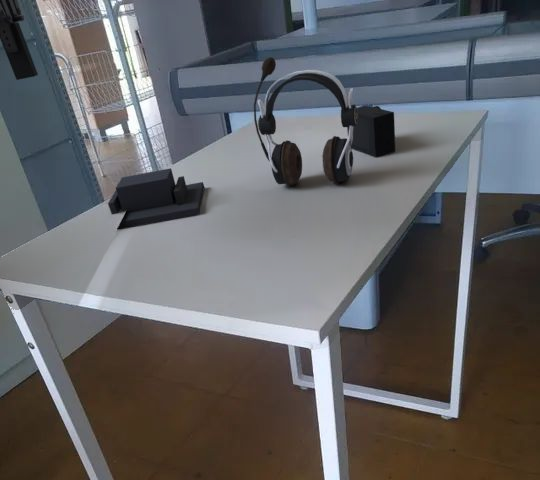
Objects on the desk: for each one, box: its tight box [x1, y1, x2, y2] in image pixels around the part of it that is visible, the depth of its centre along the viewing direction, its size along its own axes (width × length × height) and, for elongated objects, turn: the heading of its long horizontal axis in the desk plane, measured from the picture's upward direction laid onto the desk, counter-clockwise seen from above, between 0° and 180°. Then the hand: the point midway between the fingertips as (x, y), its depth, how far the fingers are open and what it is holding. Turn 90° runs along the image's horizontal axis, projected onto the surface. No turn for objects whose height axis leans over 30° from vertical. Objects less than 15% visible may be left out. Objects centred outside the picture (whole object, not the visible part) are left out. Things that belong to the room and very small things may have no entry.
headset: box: [253, 56, 358, 188], centre depth 88 cm, size 17×8×20 cm, turn 71°
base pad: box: [107, 175, 205, 230], centre depth 96 cm, size 18×14×4 cm
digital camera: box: [346, 105, 396, 158], centre depth 103 cm, size 10×5×7 cm, turn 22°
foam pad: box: [115, 168, 176, 214], centre depth 96 cm, size 9×6×4 cm, turn 92°
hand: (27, 77), depth 78 cm, fingers closed
